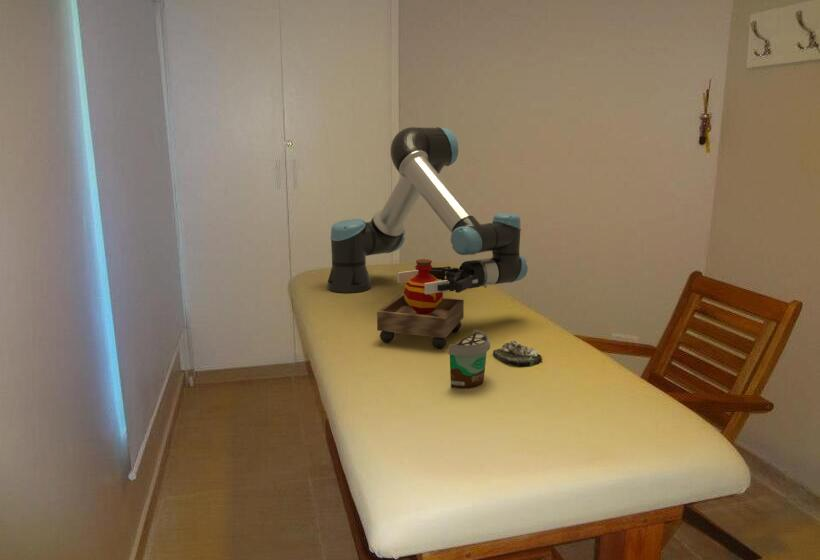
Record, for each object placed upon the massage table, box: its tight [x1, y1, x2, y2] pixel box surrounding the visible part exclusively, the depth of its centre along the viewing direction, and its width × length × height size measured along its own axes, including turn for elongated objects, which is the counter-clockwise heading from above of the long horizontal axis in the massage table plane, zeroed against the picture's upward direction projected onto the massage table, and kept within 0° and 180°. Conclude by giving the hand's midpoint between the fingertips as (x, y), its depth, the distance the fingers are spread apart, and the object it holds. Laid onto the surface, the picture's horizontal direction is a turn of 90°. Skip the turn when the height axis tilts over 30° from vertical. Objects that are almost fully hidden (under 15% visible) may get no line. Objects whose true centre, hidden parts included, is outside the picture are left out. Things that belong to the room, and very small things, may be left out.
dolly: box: [376, 293, 465, 350], centre depth 158 cm, size 18×18×9 cm
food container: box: [447, 329, 491, 390], centre depth 129 cm, size 12×6×10 cm, turn 148°
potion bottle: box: [402, 258, 444, 316], centre depth 156 cm, size 10×10×15 cm
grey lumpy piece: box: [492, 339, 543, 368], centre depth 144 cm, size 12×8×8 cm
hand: (411, 283), depth 154 cm, fingers open, 13 cm apart
